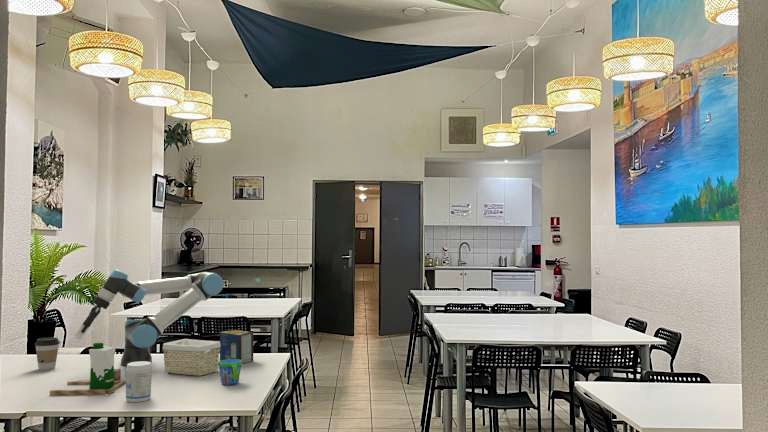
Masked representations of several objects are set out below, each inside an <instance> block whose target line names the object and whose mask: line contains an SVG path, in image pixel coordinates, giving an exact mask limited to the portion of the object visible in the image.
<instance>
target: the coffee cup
mask: <svg viewBox="0 0 768 432" xmlns="http://www.w3.org/2000/svg"><path fill="white" fill-rule="evenodd" d="M60 344H61V341H60V340H59V338H58V337H41V338H40V337H39V338H37V339H36V342H34V346H35V352H36V359H37V360H36V361H37V367H38V370H39V371H51V370H54V369H56V366H57V365H56V364H57V359H58V353H59V347H60V346H59V345H60ZM50 369H51V370H50Z"/></svg>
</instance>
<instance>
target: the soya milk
mask: <svg viewBox="0 0 768 432" xmlns="http://www.w3.org/2000/svg"><path fill="white" fill-rule="evenodd" d="M116 348H117V347H114V346H104V342H94V343H92V348H90V349H88V352H89V357H90V370H89V371H90V376H89V378H90V379H89V380H90V385H89V389H107V390H108V389H110V388H111V387H113V386H115V384H114V369H115V367H114V366H115V355H116V354H115V353H116Z"/></svg>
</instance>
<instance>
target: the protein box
mask: <svg viewBox="0 0 768 432" xmlns="http://www.w3.org/2000/svg"><path fill="white" fill-rule="evenodd" d="M219 342H220V345H221V347H220V351H219V361H221V360H227V359H239V360H242V364H246V363H251V362H254V331H245V330H237V329H232V330H226V331H219ZM250 361H251V362H250ZM245 362H246V363H245Z"/></svg>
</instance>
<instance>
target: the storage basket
mask: <svg viewBox="0 0 768 432" xmlns="http://www.w3.org/2000/svg"><path fill="white" fill-rule="evenodd" d="M162 345H163V346H162V351H163V361H164V363H163V364H164V372H166V373H168V374H173V375H184V376H194V377H195V376H196V377H198V376H201V377H202V376H204V375H207V374H212V373H214V372H217V371H218V369H219V366H218V362H219V361H220V347H221V345H220V340H218V341H215V340H204V339H202V340H201V339H192V338H191V339H190V338H183V339H177V340H173V341H168V342H164V343H163V344H162Z"/></svg>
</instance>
